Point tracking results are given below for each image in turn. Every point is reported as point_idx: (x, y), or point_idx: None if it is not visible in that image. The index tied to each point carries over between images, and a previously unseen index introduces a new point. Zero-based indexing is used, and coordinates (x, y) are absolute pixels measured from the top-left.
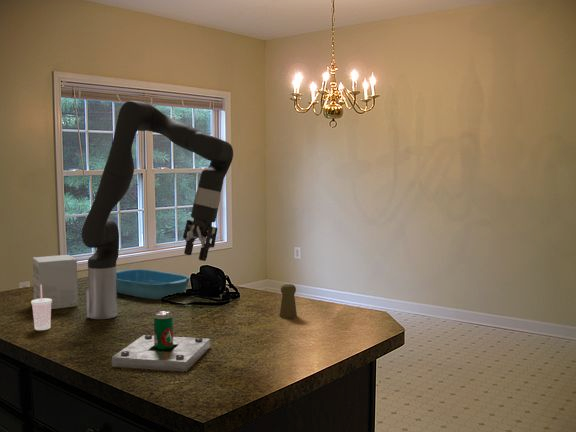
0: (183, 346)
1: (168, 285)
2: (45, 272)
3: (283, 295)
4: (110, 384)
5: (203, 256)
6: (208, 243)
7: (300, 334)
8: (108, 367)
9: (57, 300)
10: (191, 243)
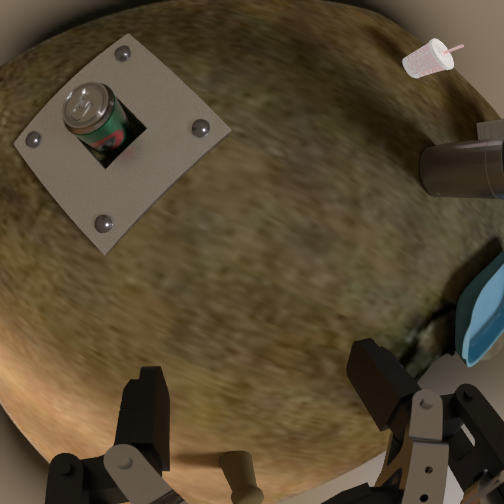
0: (87, 173)
1: (467, 323)
2: None
3: (244, 484)
4: (64, 32)
5: (123, 396)
6: (50, 479)
7: (114, 430)
8: None
9: None
10: (386, 419)
